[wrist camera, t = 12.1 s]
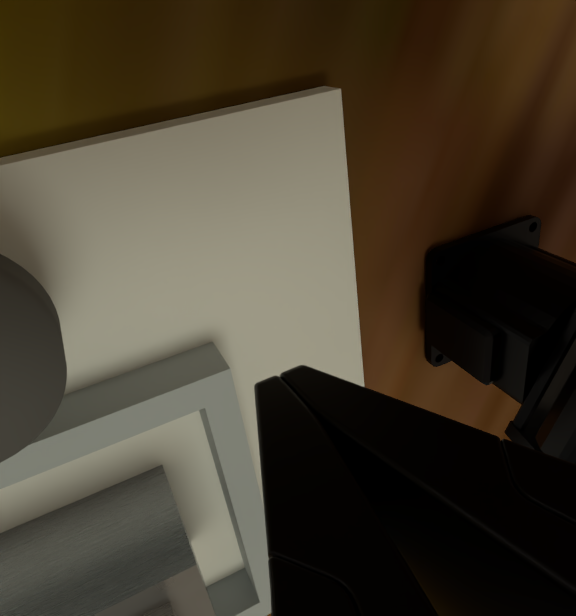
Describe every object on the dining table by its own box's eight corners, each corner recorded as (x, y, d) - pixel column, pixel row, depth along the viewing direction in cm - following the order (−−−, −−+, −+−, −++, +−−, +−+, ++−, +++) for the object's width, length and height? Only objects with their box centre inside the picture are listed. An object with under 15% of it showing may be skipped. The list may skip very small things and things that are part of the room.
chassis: (324, 86, 19) (373, 94, 16) (362, 501, 30) (395, 545, 28) (-845, 344, 11) (-1120, 443, 8) (-193, 780, 22) (-221, 879, 19)
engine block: (162, 464, 21) (205, 590, 17) (190, 541, 24) (235, 670, 19) (-54, 556, 19) (-78, 734, 14) (3, 631, 22) (-1, 804, 17)
